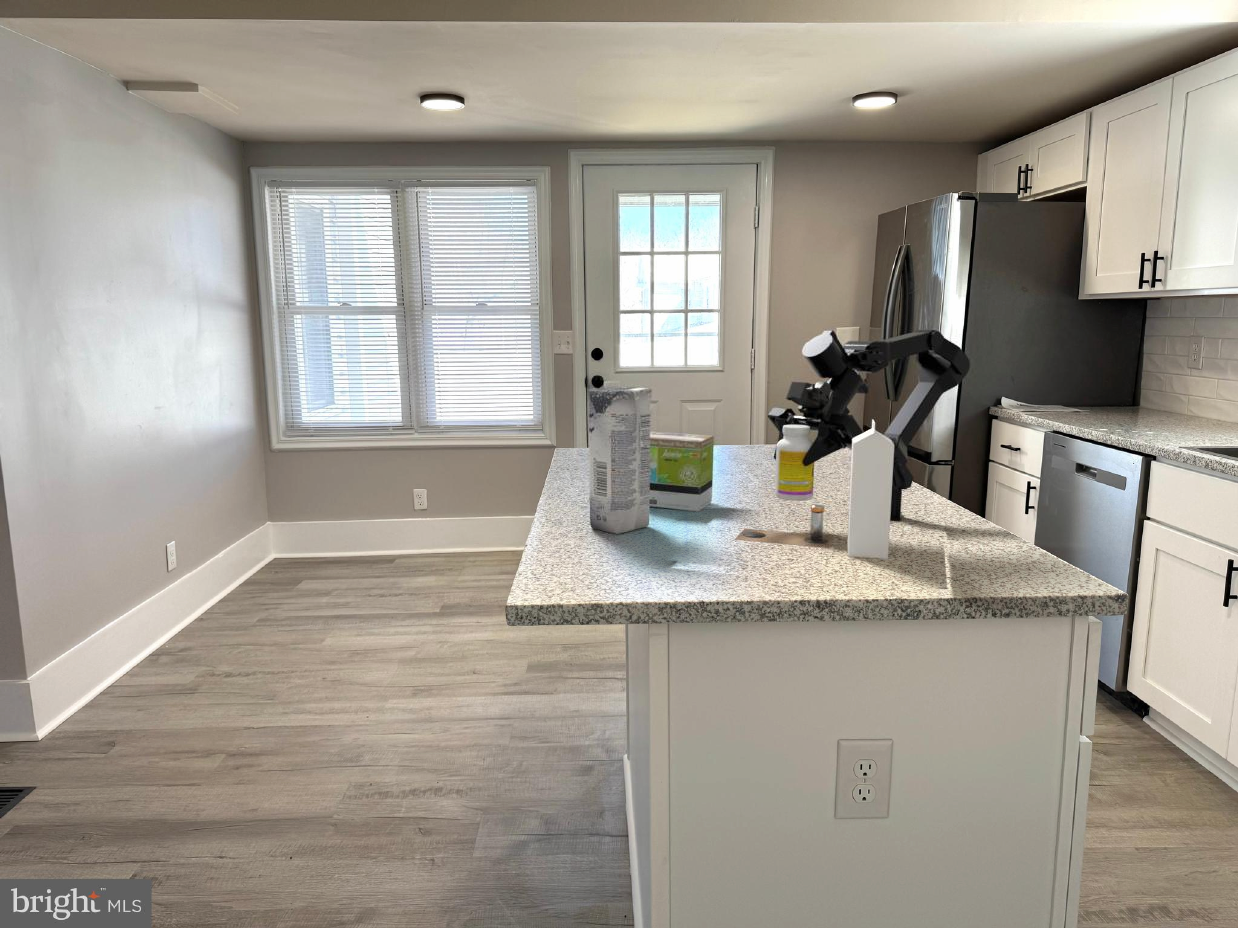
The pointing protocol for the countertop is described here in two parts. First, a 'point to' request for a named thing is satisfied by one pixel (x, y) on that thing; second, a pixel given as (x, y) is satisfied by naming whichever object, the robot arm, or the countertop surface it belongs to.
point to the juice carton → (619, 457)
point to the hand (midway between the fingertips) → (789, 461)
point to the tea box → (681, 470)
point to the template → (783, 538)
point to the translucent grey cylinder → (816, 523)
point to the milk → (870, 495)
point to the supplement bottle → (794, 465)
